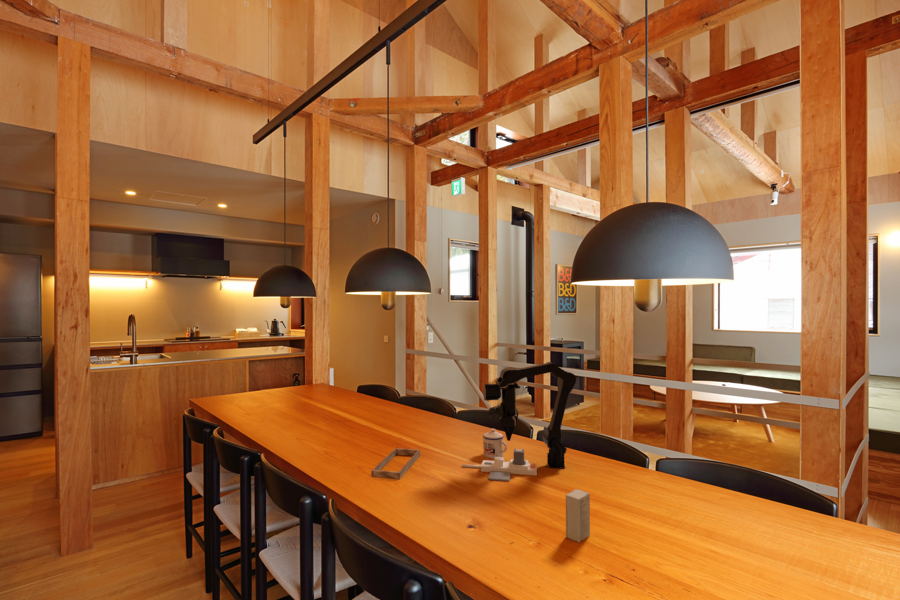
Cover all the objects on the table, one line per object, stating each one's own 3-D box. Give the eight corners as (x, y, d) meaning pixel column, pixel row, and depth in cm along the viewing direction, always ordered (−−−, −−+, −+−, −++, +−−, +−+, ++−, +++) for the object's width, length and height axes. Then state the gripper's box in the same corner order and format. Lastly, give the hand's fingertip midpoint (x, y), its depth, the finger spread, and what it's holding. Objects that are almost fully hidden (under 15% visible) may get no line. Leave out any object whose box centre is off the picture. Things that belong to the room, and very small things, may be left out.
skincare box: (577, 530, 129) (576, 488, 129) (590, 535, 126) (590, 492, 126) (565, 537, 125) (564, 494, 125) (578, 543, 121) (578, 499, 122)
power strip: (536, 468, 179) (536, 457, 179) (536, 475, 172) (536, 464, 172) (463, 463, 186) (463, 453, 186) (460, 469, 178) (460, 459, 178)
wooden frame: (420, 455, 196) (420, 449, 196) (400, 479, 168) (400, 472, 168) (395, 453, 198) (395, 448, 198) (371, 477, 170) (371, 470, 170)
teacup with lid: (478, 455, 196) (478, 429, 196) (491, 451, 202) (491, 425, 203) (500, 462, 187) (500, 434, 188) (512, 456, 194) (512, 430, 194)
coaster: (510, 473, 174) (510, 472, 174) (509, 481, 166) (509, 479, 166) (490, 472, 175) (490, 470, 175) (488, 479, 168) (488, 478, 168)
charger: (524, 464, 179) (524, 449, 179) (523, 467, 175) (523, 452, 175) (514, 463, 179) (514, 448, 180) (513, 467, 176) (513, 451, 176)
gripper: (492, 394, 192) (493, 430, 192) (485, 403, 174) (487, 443, 174) (518, 395, 190) (519, 431, 189) (514, 404, 172) (515, 444, 171)
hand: (509, 437), depth 181 cm, fingers open, 9 cm apart
